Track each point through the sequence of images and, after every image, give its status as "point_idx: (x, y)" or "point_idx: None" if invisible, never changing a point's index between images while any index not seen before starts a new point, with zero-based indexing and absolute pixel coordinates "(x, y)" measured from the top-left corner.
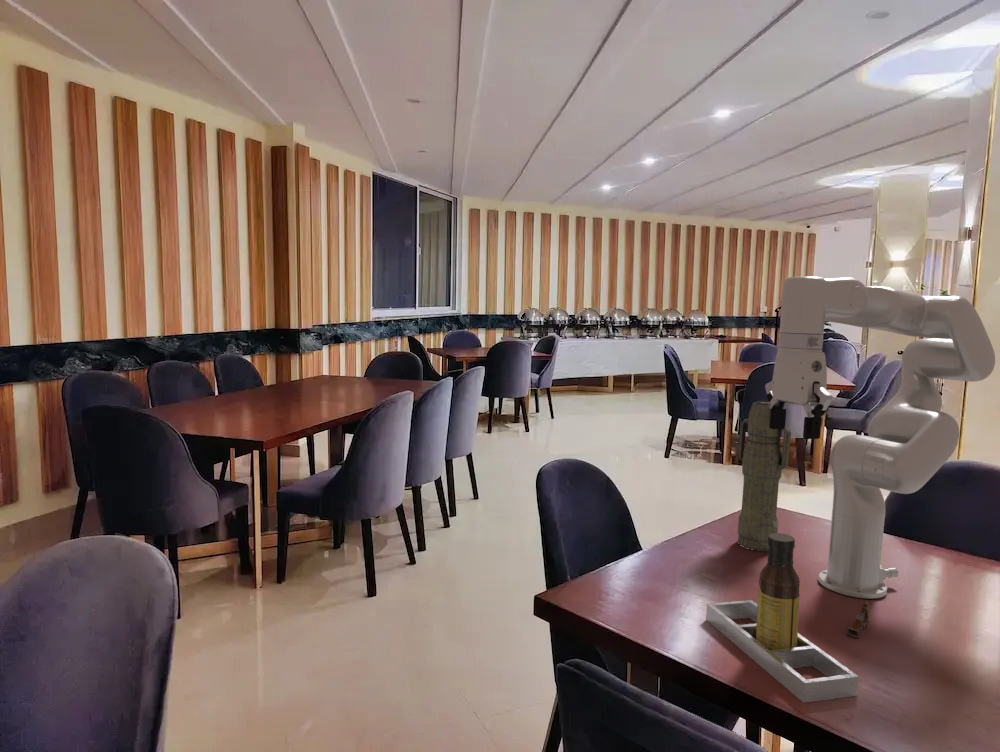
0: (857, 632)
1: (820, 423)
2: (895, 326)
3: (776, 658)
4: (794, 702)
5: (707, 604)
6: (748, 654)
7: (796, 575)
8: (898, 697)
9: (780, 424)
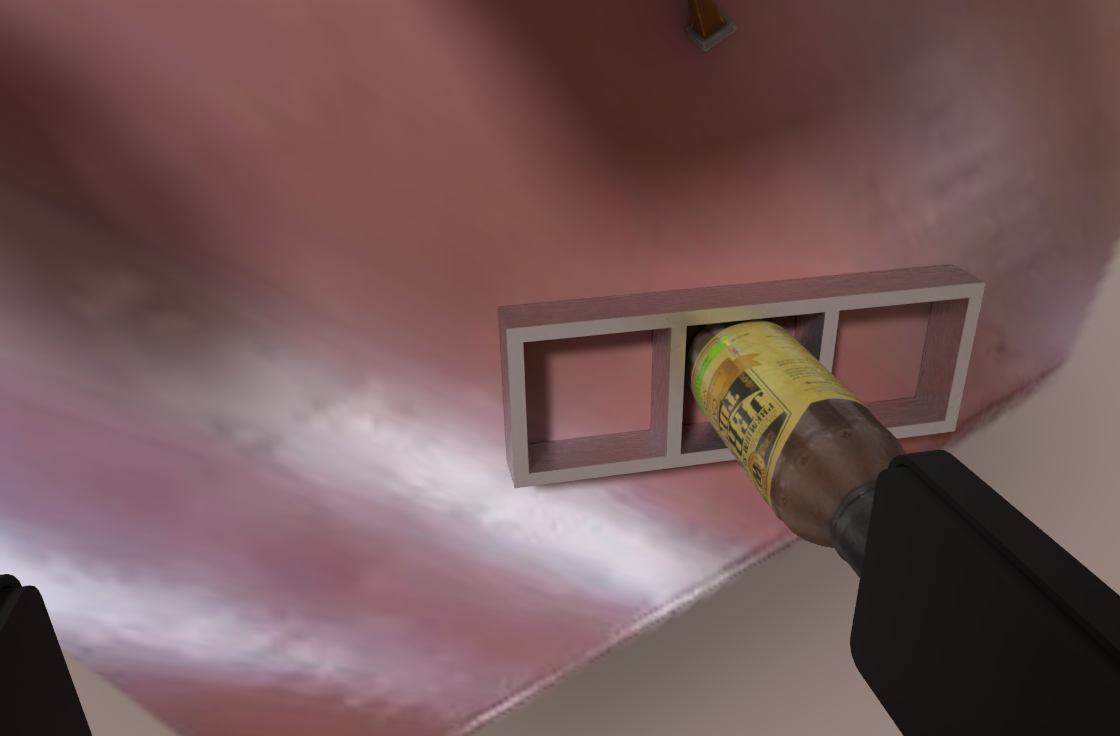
0: (725, 20)
1: (1116, 608)
2: None
3: None
4: None
5: (517, 487)
6: None
7: None
8: (995, 158)
9: (31, 719)
